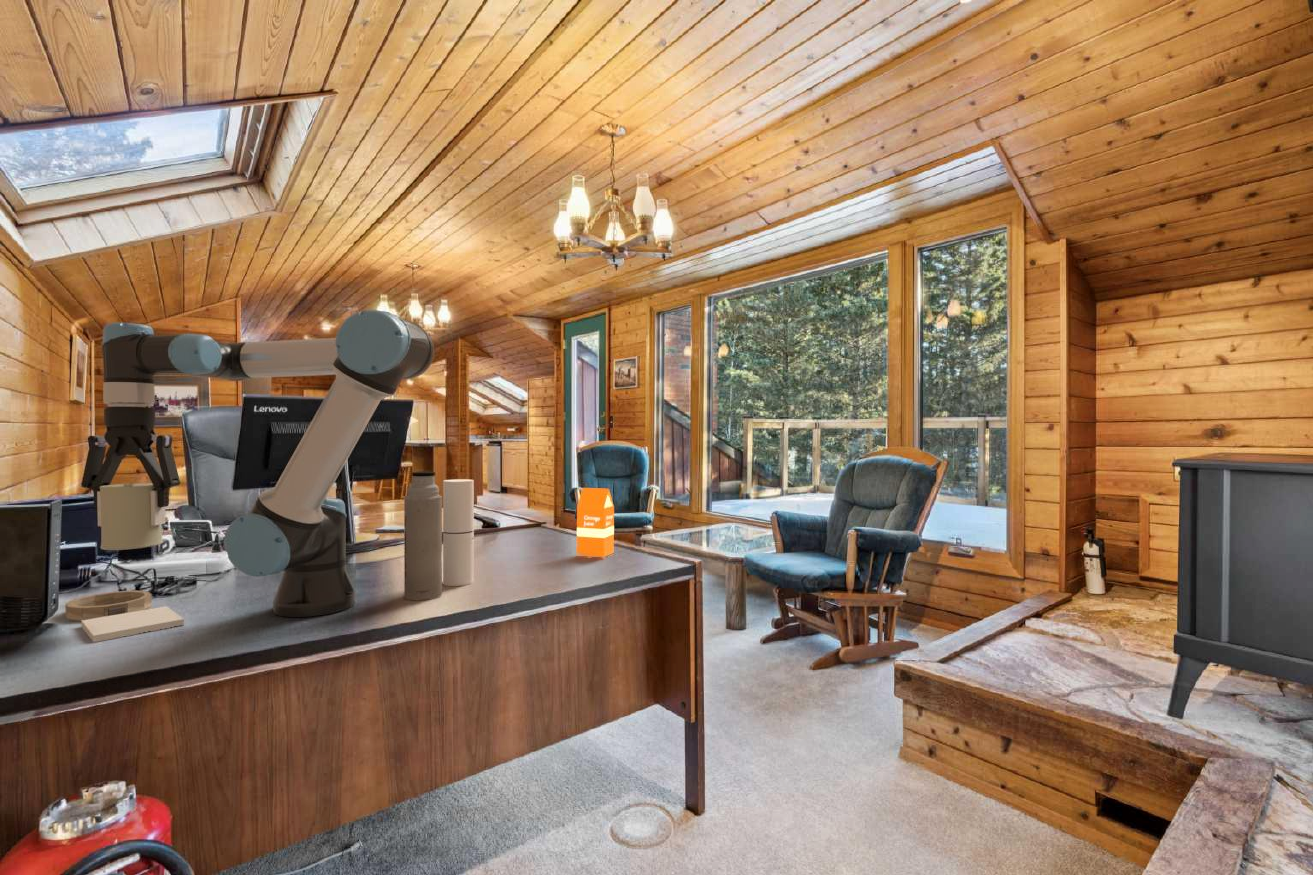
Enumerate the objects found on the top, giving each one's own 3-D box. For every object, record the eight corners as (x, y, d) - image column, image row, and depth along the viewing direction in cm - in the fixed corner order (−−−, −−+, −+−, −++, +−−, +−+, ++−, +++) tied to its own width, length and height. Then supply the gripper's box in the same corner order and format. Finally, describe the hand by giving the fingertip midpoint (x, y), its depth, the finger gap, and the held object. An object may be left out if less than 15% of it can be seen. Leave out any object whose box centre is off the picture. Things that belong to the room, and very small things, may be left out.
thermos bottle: (399, 600, 140) (399, 472, 139) (410, 591, 148) (410, 470, 147) (436, 600, 141) (436, 472, 140) (445, 590, 148) (445, 470, 148)
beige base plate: (183, 625, 122) (183, 618, 122) (93, 642, 112) (93, 635, 112) (166, 612, 130) (166, 606, 130) (81, 626, 120) (81, 620, 120)
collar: (158, 611, 131) (158, 599, 131) (72, 626, 121) (72, 612, 121) (141, 597, 141) (141, 586, 141) (61, 610, 131) (61, 598, 131)
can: (95, 552, 115) (94, 485, 115) (105, 544, 123) (104, 482, 123) (160, 546, 120) (158, 482, 120) (165, 539, 128) (164, 479, 128)
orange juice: (587, 551, 196) (587, 486, 196) (614, 553, 193) (614, 487, 193) (576, 556, 189) (576, 488, 189) (603, 558, 186) (604, 489, 186)
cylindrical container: (436, 584, 155) (436, 481, 154) (456, 577, 161) (456, 478, 161) (460, 587, 152) (460, 482, 151) (479, 580, 158) (479, 479, 158)
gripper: (202, 406, 126) (204, 521, 126) (86, 407, 124) (89, 522, 125) (175, 405, 118) (177, 526, 118) (52, 405, 117) (55, 528, 117)
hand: (132, 524), depth 122 cm, fingers closed on can, 9 cm apart
